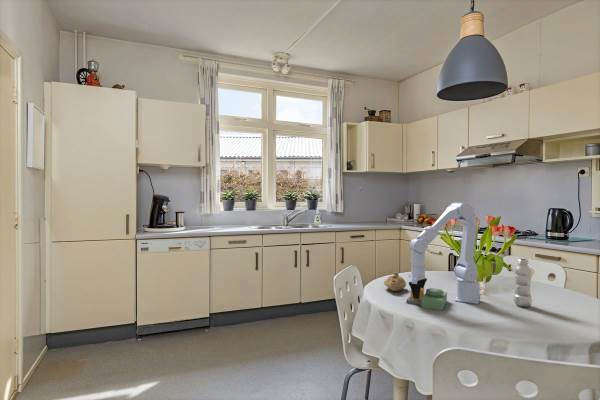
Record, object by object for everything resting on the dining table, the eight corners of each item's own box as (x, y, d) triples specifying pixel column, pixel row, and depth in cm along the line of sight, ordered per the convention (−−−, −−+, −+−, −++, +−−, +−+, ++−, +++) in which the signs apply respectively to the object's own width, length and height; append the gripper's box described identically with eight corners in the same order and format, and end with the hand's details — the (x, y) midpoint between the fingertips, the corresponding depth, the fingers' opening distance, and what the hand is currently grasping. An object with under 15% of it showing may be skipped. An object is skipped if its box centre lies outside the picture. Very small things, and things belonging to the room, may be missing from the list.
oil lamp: (385, 294, 172) (385, 277, 172) (382, 286, 187) (382, 270, 187) (409, 294, 171) (409, 278, 170) (404, 286, 185) (404, 271, 185)
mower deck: (446, 301, 160) (446, 288, 160) (441, 310, 148) (441, 295, 148) (412, 296, 168) (412, 283, 167) (404, 304, 156) (404, 290, 155)
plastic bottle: (523, 309, 149) (524, 261, 149) (510, 304, 155) (510, 258, 155) (535, 307, 151) (536, 260, 150) (521, 303, 157) (522, 257, 157)
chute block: (423, 301, 160) (423, 288, 160) (421, 304, 157) (421, 290, 156) (412, 299, 163) (412, 286, 163) (410, 302, 159) (410, 288, 159)
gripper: (412, 262, 167) (412, 291, 168) (404, 268, 155) (404, 299, 155) (428, 263, 164) (428, 293, 164) (421, 269, 151) (421, 301, 152)
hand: (417, 296), depth 160 cm, fingers open, 7 cm apart
